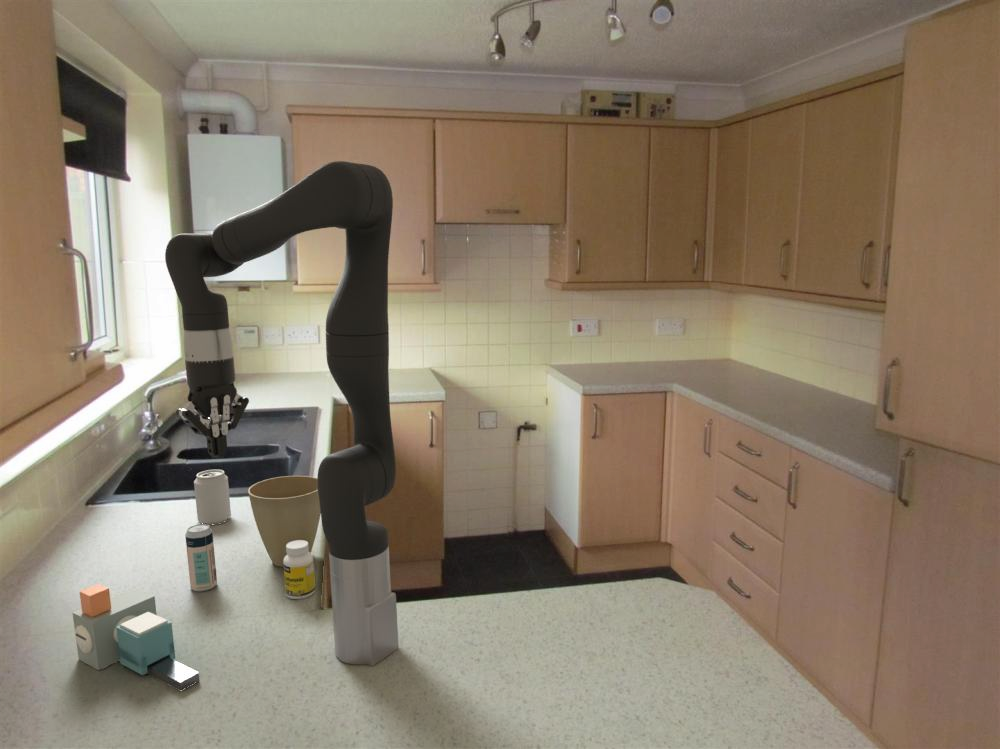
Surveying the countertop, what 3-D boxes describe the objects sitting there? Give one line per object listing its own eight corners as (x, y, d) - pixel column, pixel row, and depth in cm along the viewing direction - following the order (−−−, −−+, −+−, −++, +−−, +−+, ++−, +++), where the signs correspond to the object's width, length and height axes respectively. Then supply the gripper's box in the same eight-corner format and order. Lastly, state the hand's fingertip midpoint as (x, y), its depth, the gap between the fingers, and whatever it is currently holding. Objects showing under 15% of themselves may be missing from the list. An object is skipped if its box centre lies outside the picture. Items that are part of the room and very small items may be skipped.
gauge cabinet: (160, 641, 120) (155, 596, 119) (96, 673, 111) (90, 624, 110) (138, 631, 124) (133, 587, 122) (75, 661, 115) (68, 614, 114)
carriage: (175, 658, 114) (171, 619, 113) (142, 675, 109) (137, 635, 108) (153, 647, 117) (149, 609, 116) (120, 663, 113) (115, 624, 112)
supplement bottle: (279, 597, 135) (275, 547, 133) (297, 585, 140) (293, 536, 138) (304, 602, 133) (300, 551, 131) (321, 589, 138) (318, 540, 136)
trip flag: (111, 609, 115) (108, 588, 114) (92, 617, 112) (89, 596, 112) (101, 604, 116) (98, 583, 116) (82, 612, 114) (79, 591, 113)
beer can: (209, 579, 143) (203, 521, 141) (222, 586, 140) (216, 527, 138) (185, 588, 139) (179, 529, 137) (198, 595, 136) (192, 534, 134)
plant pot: (299, 580, 142) (293, 502, 139) (238, 569, 147) (231, 493, 144) (342, 550, 155) (338, 478, 153) (285, 541, 161) (280, 472, 158)
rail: (199, 681, 109) (198, 672, 108) (181, 691, 106) (180, 682, 106) (139, 651, 117) (138, 642, 117) (121, 659, 115) (120, 651, 115)
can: (219, 512, 179) (215, 466, 177) (237, 519, 175) (233, 471, 173) (191, 522, 173) (186, 474, 171) (209, 529, 169) (205, 479, 167)
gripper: (186, 363, 113) (197, 470, 116) (256, 352, 124) (264, 450, 127) (158, 360, 117) (169, 463, 120) (229, 349, 128) (237, 444, 131)
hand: (218, 456), depth 124 cm, fingers closed
